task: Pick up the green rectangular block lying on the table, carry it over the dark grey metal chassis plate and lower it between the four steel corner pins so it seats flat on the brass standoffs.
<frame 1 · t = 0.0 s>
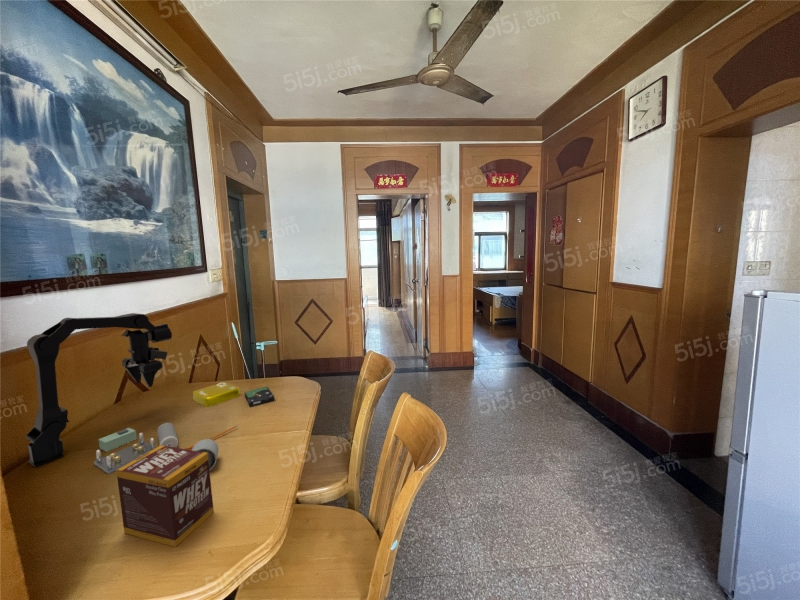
hand: (144, 384, 127), 15 cm above the table, fingers open, 9 cm apart
disk drive: (259, 400, 147), on the table
green rectangular block: (118, 444, 112), on the table
supplement box: (171, 523, 77), on the table
ceramic mug: (199, 469, 97), on the table
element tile: (217, 399, 149), on the table
motor: (199, 434, 118), on the table
chassis: (127, 457, 104), on the table
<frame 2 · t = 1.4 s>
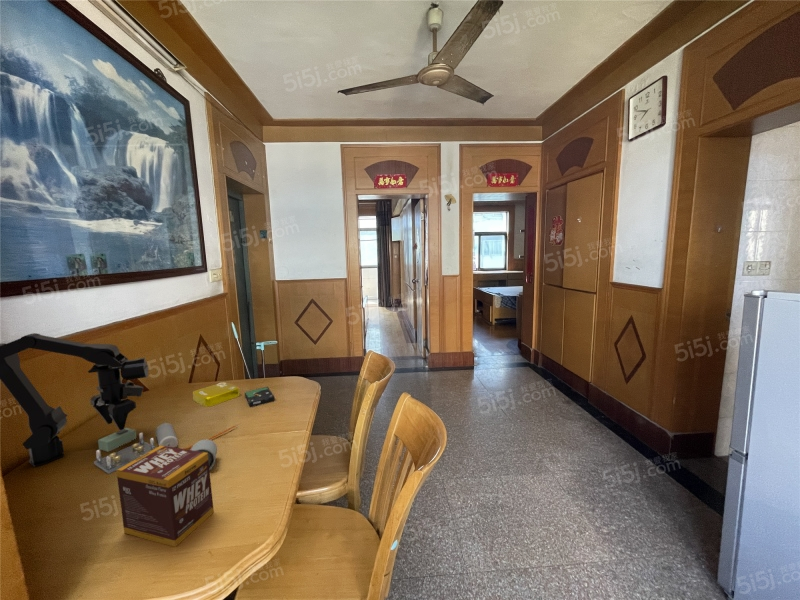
hand: (115, 426, 111), 6 cm above the table, fingers open, 9 cm apart
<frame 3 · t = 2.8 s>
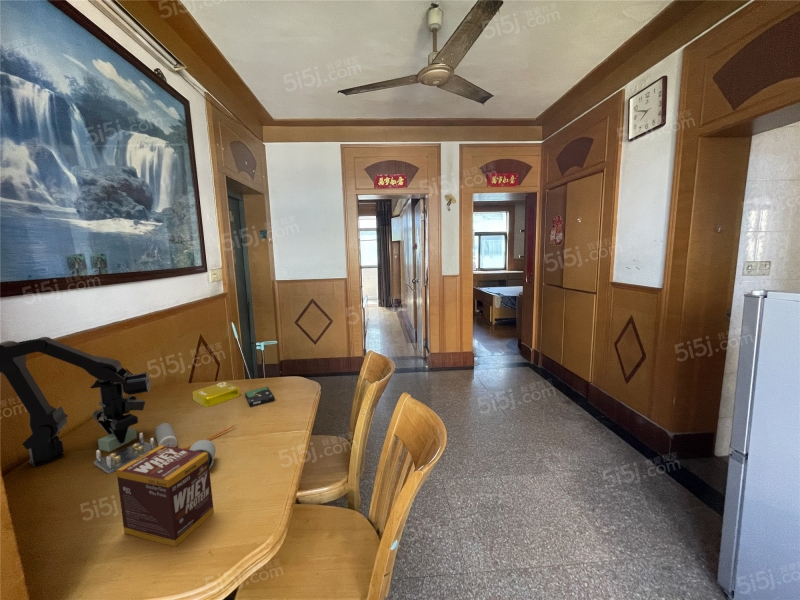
hand: (118, 440, 112), 1 cm above the table, fingers closed on green rectangular block, 5 cm apart
green rectangular block: (118, 443, 112), on the table, touching gripper
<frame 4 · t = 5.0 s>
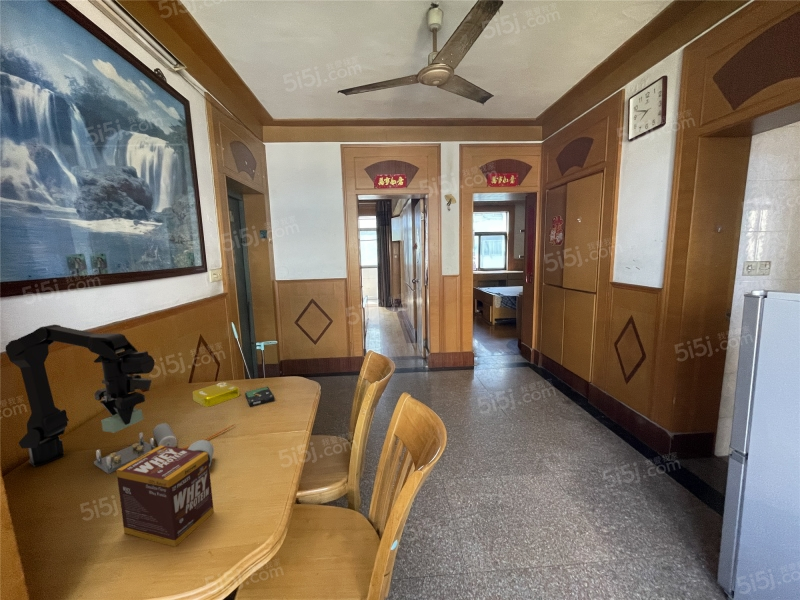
hand: (123, 422, 103), 11 cm above the table, fingers closed on green rectangular block, 5 cm apart
green rectangular block: (123, 425, 104), point 10 cm above the table, touching gripper
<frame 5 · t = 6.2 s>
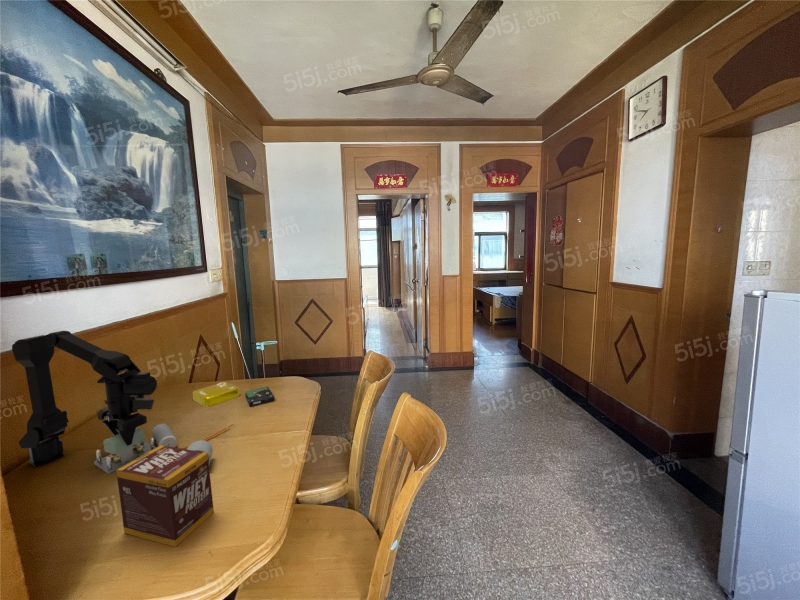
hand: (125, 442, 103), 5 cm above the table, fingers closed on green rectangular block, 5 cm apart
green rectangular block: (125, 445, 103), point 4 cm above the table, touching gripper
when the fingers open (4 cm above the table, at t = 7.1 s): green rectangular block stays where it is, resting on chassis.
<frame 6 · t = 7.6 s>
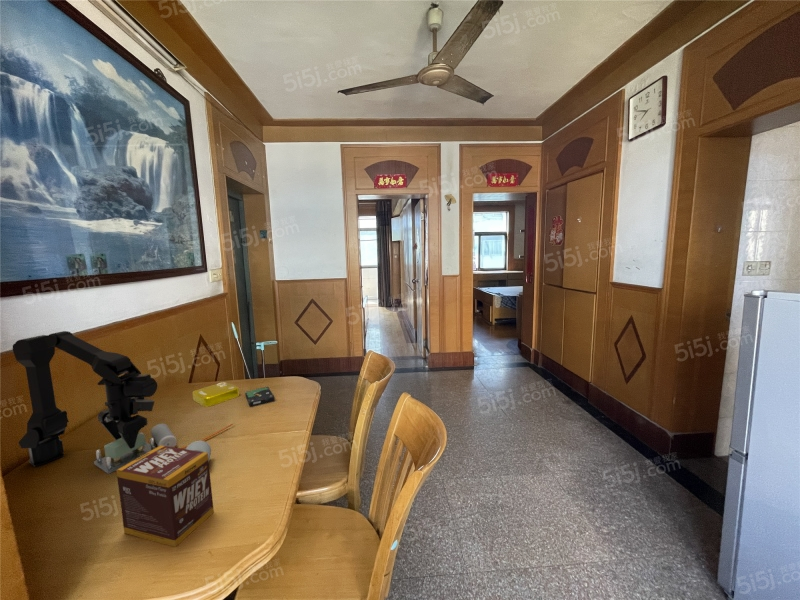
hand: (125, 444, 103), 4 cm above the table, fingers open, 9 cm apart
green rectangular block: (126, 450, 103), point 2 cm above the table, touching chassis
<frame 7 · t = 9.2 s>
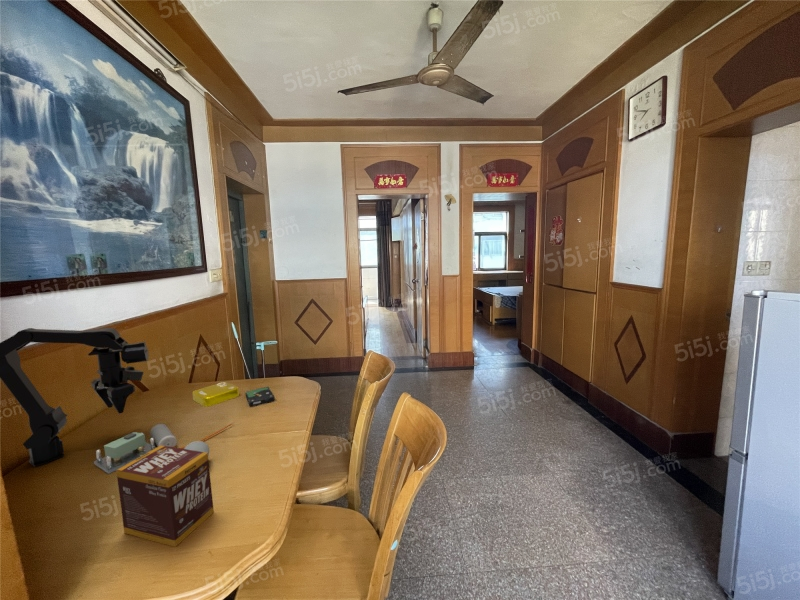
hand: (115, 410, 111), 12 cm above the table, fingers open, 9 cm apart
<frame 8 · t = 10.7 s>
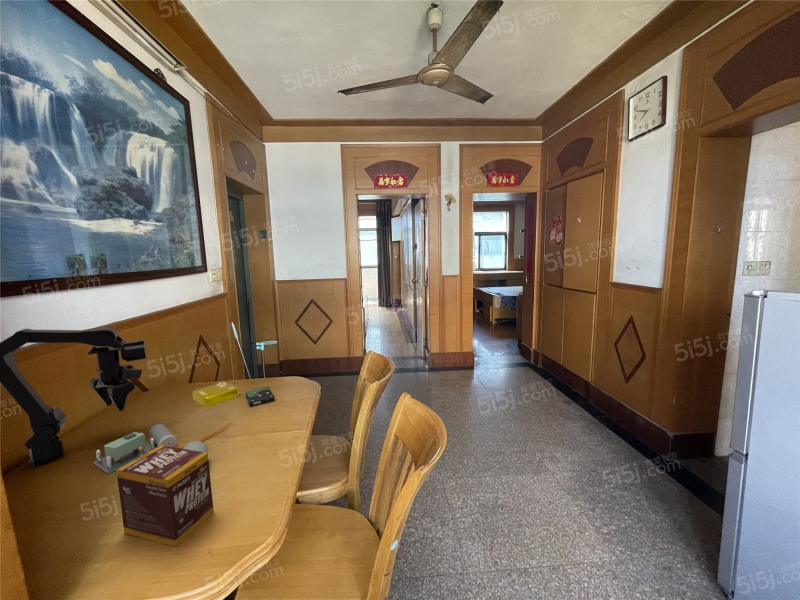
hand: (115, 408, 113), 12 cm above the table, fingers open, 9 cm apart
at the end: green rectangular block 0.1 cm off-centre on the chassis, point 2.5 cm above the chassis's base; green rectangular block tilted 0°; the gripper is holding nothing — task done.
